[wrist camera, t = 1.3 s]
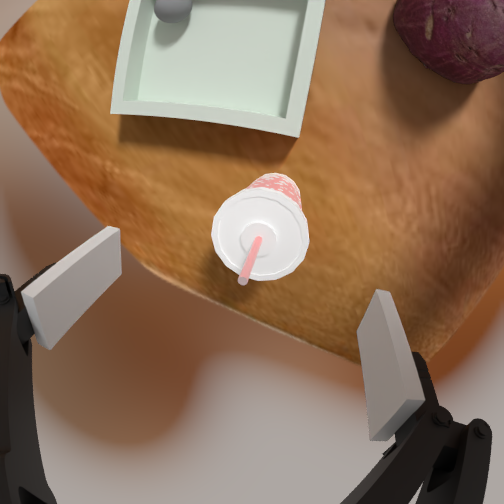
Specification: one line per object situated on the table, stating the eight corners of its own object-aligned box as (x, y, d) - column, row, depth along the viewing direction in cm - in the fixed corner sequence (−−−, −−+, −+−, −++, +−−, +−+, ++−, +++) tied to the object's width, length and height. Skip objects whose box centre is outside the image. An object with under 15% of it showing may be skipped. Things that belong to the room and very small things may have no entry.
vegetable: (463, 10, 16) (563, -23, 2) (479, 96, 20) (601, 95, 5) (379, -24, 16) (473, -102, 1) (394, 71, 19) (539, 26, 5)
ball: (201, -4, 18) (187, -16, 15) (194, 26, 20) (179, 17, 17) (167, -2, 18) (151, -13, 16) (161, 27, 20) (143, 19, 17)
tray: (327, -10, 17) (329, -26, 14) (299, 134, 24) (298, 137, 20) (155, -17, 18) (137, -28, 15) (131, 111, 25) (110, 113, 22)
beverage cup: (256, 152, 25) (203, 195, 13) (321, 183, 25) (333, 256, 13) (230, 212, 28) (168, 299, 15) (290, 240, 28) (273, 347, 16)
